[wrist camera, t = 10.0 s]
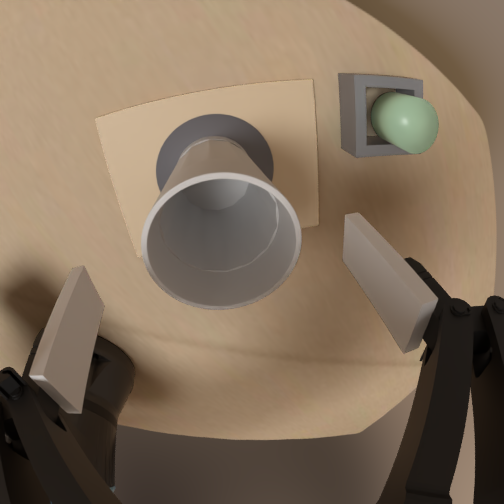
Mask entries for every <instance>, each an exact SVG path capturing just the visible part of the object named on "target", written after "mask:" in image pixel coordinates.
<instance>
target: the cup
mask: <svg viewBox="0 0 504 504" xmlns="http://www.w3.org/2000/svg"><path fill="white" fill-rule="evenodd" d="M301 242H302V234H301V227H300V223H299V219H298V217H297V214H296V212H295V210H294V208H293V207H292V205H291V204H290V202H289V201H288V200H287V199H286V197H285V196H284V195H283V194H282V193H281V192H280V191H279V190H278V189H277V188H276V186H275V185H274V184H273V183H272V182H271V181H270V180H269V179H268V178H267V177H266V176H265V175H264V173H263V172H262V171H261V170H260V169H259V168H258V166H257V165H256V164H255V163H254V162H253V161H252V160H251V159H250V157H249V156H248V155H247V153H246V151H245V150H244V149H243V148H242V147H241V146H240V145H239V144H238V143H237V142H235V141H233V140H231V139H229V138H226V137H222V136H208V137H203V138H201V139H198V140H196V141H194V142H193V143H191V144H190V145H189V146H188V147H187V148H186V149H185V150H184V151H183V153H182V154H181V156H180V158H179V160H178V163H177V165H176V166H175V168H174V170H173V172H172V173H171V175H170V177H169V179H168V181H167V182H166V184H165V186H164V188H163V190H162V191H161V193H160V195H159V197H158V198H157V200H156V202H155V203H154V205H153V207H152V209H151V211H150V212H149V214H148V216H147V218H146V221H145V223H144V226H143V230H142V236H141V251H142V257H143V260H144V263H145V266H146V268H147V271H148V272H149V274H150V276H151V277H152V279H153V280H154V281H155V283H156V284H157V285H158V286H159V287H160V288H161V289H162V290H163V291H165V292H166V293H167V294H168V295H170V296H171V297H173V298H175V299H176V300H178V301H180V302H183V303H185V304H188V305H191V306H194V307H198V308H203V309H211V310H225V309H233V308H238V307H243V306H246V305H249V304H252V303H254V302H257V301H259V300H261V299H263V298H264V297H266V296H268V295H269V294H271V293H272V292H273V291H275V290H276V289H277V288H278V287H279V286H280V285H281V284H282V283H283V282H284V281H285V280H286V279H287V278H288V276H289V275H290V274H291V272H292V270H293V269H294V267H295V265H296V263H297V260H298V257H299V254H300V250H301Z"/></svg>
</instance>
